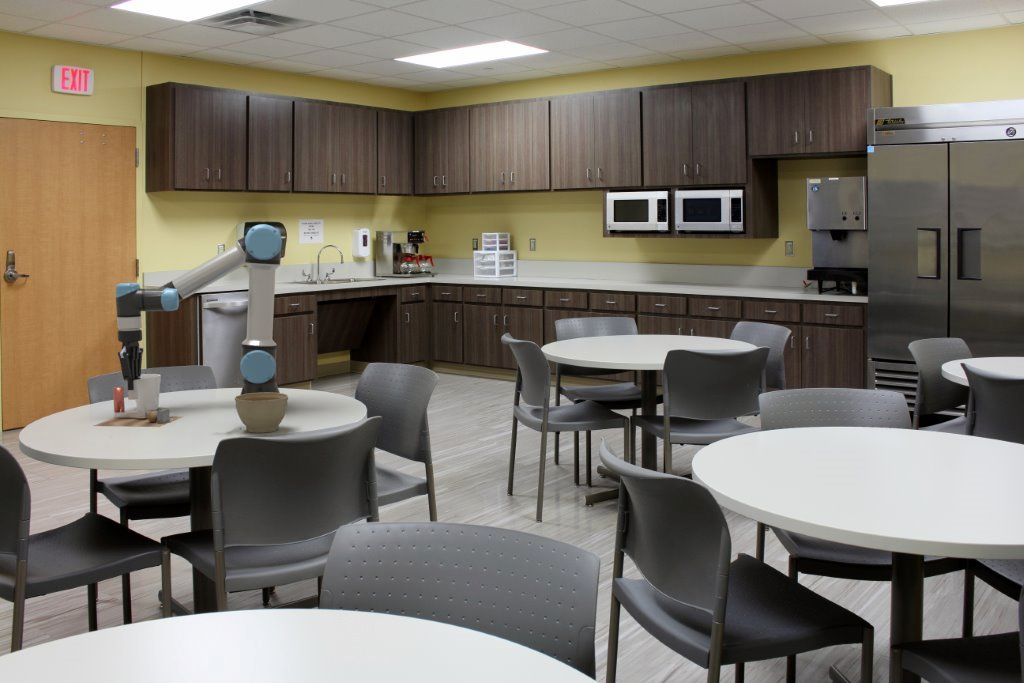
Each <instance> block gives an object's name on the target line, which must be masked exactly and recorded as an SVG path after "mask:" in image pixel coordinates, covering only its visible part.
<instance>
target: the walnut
mask: <svg viewBox="0 0 1024 683" xmlns="http://www.w3.org/2000/svg"><path fill="white" fill-rule="evenodd" d="M150 411H151V412H149V413H148V415H147V419H148V421H150V422H156V421H157V412H155V411H156V410H150Z"/></svg>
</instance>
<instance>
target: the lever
mask: <svg viewBox="0 0 1024 683" xmlns="http://www.w3.org/2000/svg"><path fill="white" fill-rule="evenodd" d="M124 390H125V389H124V387H123V386H118V387H117V386H116V387H115V386H114V387H112V395H113V396H112V397H113V412H114V418H116V417H134V418H147V415H148V413H149V412H151V411H152V410H149V411H147V409H137V408H136V409H135V410H131V411H130V410H125V391H124ZM154 411H155V412H157V410H154Z"/></svg>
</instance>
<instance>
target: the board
mask: <svg viewBox="0 0 1024 683" xmlns="http://www.w3.org/2000/svg"><path fill="white" fill-rule="evenodd" d="M161 409H164V408H162V407H158V409H156V411H159V410H161ZM182 418H183V416H177V415H176V416H171V415H170V421H169V422H166V423H164V424H157V421H156V422H150V421H148V419H147V418H134V417H114V418H111V419H107V420H105V421H102V422H99V423H97V424H94V425H93V427H134V428H135V427H137V428H140V427H145V428H148V427H149V428H160V427H162V426H165V425H167V424H169V423H172V422H175V421H177V420H179V419H182Z"/></svg>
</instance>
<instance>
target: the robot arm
mask: <svg viewBox="0 0 1024 683" xmlns="http://www.w3.org/2000/svg"><path fill="white" fill-rule="evenodd" d="M282 244H283V239H282V236H281V234H280V233H279V230H278V229H277V228H275V227H274V226H272V225H269V224H266V223H263V224H257V225H254V226H252V227H251V228H249V230H248V232H247V233H246V235H244V236H243V237H241V238H239V239H238V240H236V243H235V245H233V246H231V247H230V248H228V249H226V250H224V251H222V252H221V253H219V254H217V255H215V256H213V257H212V258H210V259H208V260H206V261H204V262H203V263H201V264H200V265H197V266H196V267H194V268H192V269H190V270H188V271H186V272H184V273H183V274H181V275H180V276H178V277H176V278H173V280H171V281H169V282H167V283H165V284H164V285H162V286H160V287H157V288H141V284H140V283H138V282H124V283H121V282H120V283H117V284H116V286H115V305H116V318H117V319H116V322H117V324H116V325H117V329H118V331H117V340H118V342H120V343H122V344H121V351H118V352H117V355H118V359H119V361H120V362H119V363H120V368H121V374H122V379H123V381H127V400H128V401H129V400H132V401H133V400H134V401H136V400H137V399H138V386H137V379H140V376H141V375H142V361H143V354H144V348H143V347H140V342H141V341H142V340H143V330H142V329H141V328H143V327H142V325H143V323H142V312H171V311H177V310H178V309H179V306H180V302H181V301H183V300H185V299H186V298H188V297H190V296H192V295H194V294H195V293H197V292H200V291H201V290H202V289H204V288H206V287H208V286H209V285H212V284H213V283H215V282H217V281H219V280H220V279H222V278H225V277H226V276H228V275H229V274H231V273H233V272H235V271H237V270H238V269H241V268H242V267H243V266H245V265H246V266H247V267H248V268H249V271H248V272H249V273H248V275H249V276H248V296H247V319H246V320H247V321H246V338H245V339H244V340H243V341H242V342H241V349H240V350H241V351H240V352H241V353H240V363H239V370H240V373H241V375H242V388H241V390H240V391H241V392H240V394H239V395H243V394H249V393H263V392H270V393H281V392H280V389H279V387H278V383H277V343H276V342H275V341H274V339H273V331H274V327H273V326H274V311H275V309H274V307H275V286H276V270H277V269H278V268H279V267H280V266H281V256H282V253H281V252H282Z"/></svg>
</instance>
